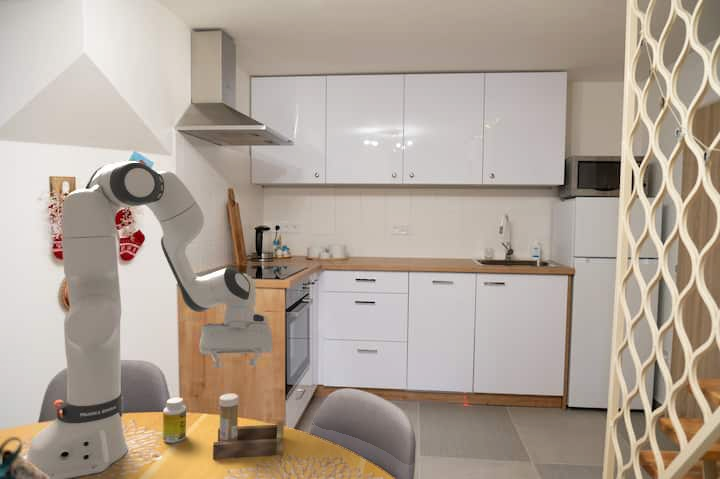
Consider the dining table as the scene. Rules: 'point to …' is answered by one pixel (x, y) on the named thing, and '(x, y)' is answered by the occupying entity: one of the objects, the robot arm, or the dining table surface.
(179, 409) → the supplement bottle
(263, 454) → the guide rail
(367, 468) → the dining table surface
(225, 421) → the spice jar
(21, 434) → the dining table surface
